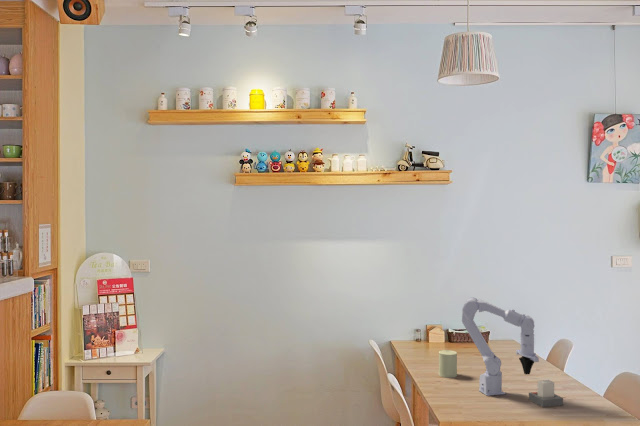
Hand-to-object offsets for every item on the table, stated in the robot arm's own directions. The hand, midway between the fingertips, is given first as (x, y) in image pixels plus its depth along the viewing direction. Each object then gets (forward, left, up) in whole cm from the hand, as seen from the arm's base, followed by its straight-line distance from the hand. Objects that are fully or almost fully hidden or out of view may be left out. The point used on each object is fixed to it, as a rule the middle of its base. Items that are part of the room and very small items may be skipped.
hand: (527, 373), depth 268 cm
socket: (+3, -10, -10) cm, 14 cm away
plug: (+3, -10, -9) cm, 14 cm away
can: (-20, +38, -10) cm, 44 cm away
